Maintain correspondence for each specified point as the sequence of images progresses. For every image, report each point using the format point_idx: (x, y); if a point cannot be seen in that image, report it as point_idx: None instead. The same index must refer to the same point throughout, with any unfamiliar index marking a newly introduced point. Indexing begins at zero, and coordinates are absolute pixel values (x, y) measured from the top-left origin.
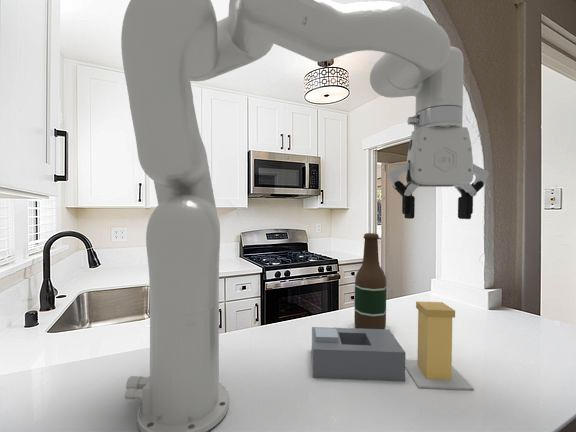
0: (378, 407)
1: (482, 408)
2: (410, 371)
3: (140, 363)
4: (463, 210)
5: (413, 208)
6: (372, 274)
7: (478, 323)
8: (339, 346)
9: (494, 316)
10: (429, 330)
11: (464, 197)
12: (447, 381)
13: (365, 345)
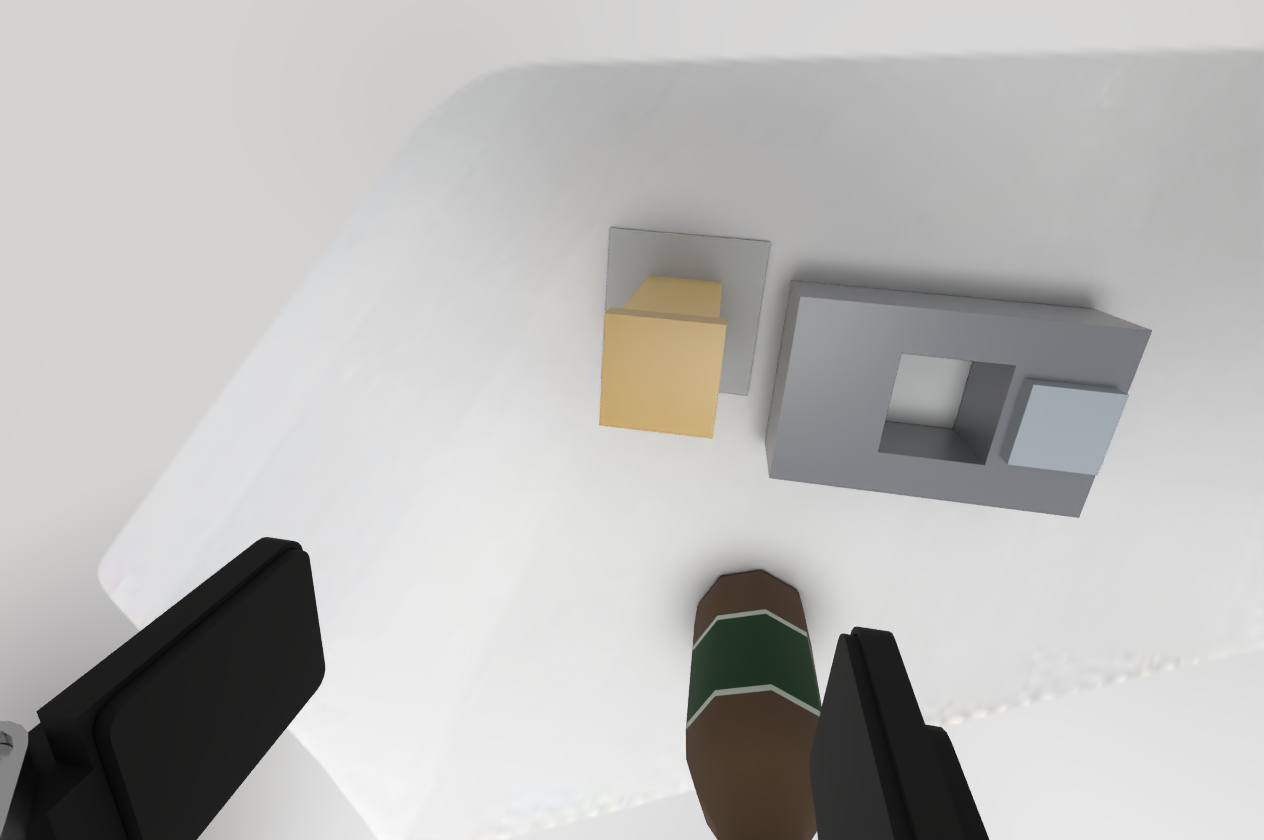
0: (942, 146)
1: (637, 143)
2: (752, 323)
3: None
4: (260, 647)
5: (881, 707)
6: (776, 756)
7: (360, 613)
8: (1033, 348)
9: None
10: (711, 312)
11: (126, 763)
12: (666, 265)
13: (925, 353)
